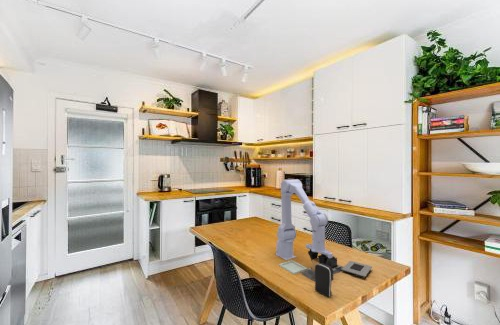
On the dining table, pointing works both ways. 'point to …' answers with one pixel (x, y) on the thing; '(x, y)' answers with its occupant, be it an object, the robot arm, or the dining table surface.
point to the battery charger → (323, 279)
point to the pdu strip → (311, 276)
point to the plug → (315, 263)
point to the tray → (293, 267)
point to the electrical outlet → (356, 268)
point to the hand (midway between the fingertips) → (318, 268)
